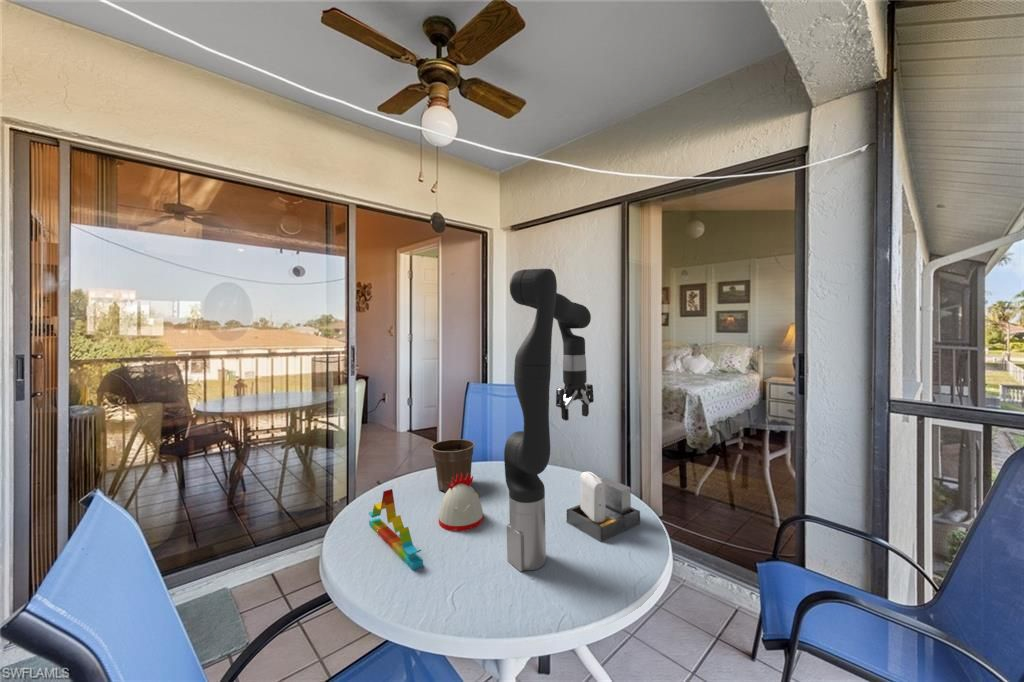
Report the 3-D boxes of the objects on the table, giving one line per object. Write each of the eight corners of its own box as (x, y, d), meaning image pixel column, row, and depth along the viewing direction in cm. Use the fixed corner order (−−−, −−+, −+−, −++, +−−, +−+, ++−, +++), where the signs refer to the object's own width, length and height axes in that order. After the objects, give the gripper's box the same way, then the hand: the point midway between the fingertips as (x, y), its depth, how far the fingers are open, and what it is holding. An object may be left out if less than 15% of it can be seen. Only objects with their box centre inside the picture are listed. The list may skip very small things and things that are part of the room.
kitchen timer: (487, 527, 124) (486, 478, 124) (441, 534, 120) (440, 484, 120) (478, 507, 138) (476, 463, 137) (436, 513, 134) (435, 468, 133)
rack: (600, 542, 114) (600, 503, 114) (566, 522, 126) (566, 487, 126) (640, 524, 124) (639, 488, 124) (605, 507, 136) (604, 474, 135)
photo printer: (607, 521, 118) (607, 479, 117) (594, 524, 117) (594, 481, 116) (590, 506, 128) (590, 467, 127) (578, 508, 126) (577, 469, 126)
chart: (424, 566, 105) (422, 509, 105) (412, 571, 103) (410, 513, 103) (379, 522, 129) (377, 476, 128) (369, 526, 127) (367, 478, 126)
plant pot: (430, 481, 161) (429, 441, 160) (470, 476, 165) (469, 436, 165) (435, 498, 145) (433, 453, 144) (479, 492, 150) (478, 448, 149)
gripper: (565, 371, 125) (566, 423, 126) (598, 367, 133) (599, 416, 134) (550, 369, 132) (551, 419, 132) (582, 365, 140) (583, 412, 140)
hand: (575, 418), depth 133 cm, fingers open, 8 cm apart
